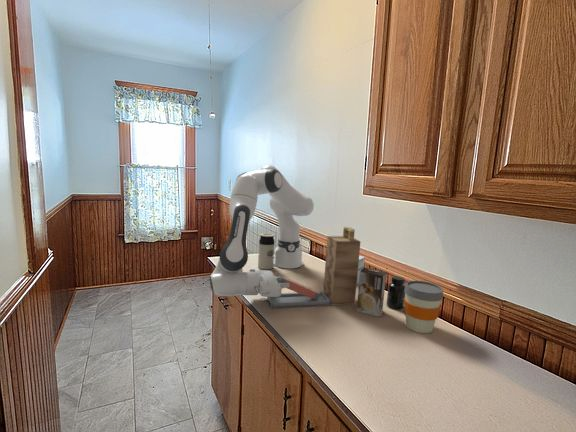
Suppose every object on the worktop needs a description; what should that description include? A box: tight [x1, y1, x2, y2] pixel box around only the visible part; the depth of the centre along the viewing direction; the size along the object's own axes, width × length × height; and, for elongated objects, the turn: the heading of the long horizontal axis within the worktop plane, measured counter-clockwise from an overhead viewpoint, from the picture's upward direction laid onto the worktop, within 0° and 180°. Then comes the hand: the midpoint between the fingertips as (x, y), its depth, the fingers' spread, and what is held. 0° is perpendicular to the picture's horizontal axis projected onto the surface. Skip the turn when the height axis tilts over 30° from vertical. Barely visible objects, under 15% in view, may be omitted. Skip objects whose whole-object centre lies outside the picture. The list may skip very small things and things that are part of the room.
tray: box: [266, 291, 332, 309], centre depth 132 cm, size 10×24×2 cm, turn 104°
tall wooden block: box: [322, 226, 361, 306], centre depth 134 cm, size 10×10×30 cm
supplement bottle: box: [386, 275, 406, 310], centre depth 132 cm, size 7×7×12 cm
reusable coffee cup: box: [403, 280, 444, 334], centre depth 115 cm, size 13×12×15 cm
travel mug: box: [257, 232, 275, 271], centre depth 171 cm, size 8×8×18 cm
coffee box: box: [356, 267, 387, 318], centre depth 125 cm, size 9×6×16 cm
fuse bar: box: [278, 274, 320, 301], centre depth 131 cm, size 3×18×3 cm, turn 104°
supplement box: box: [356, 255, 366, 286], centre depth 158 cm, size 7×7×13 cm
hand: (287, 282), depth 129 cm, fingers closed on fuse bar, 3 cm apart
